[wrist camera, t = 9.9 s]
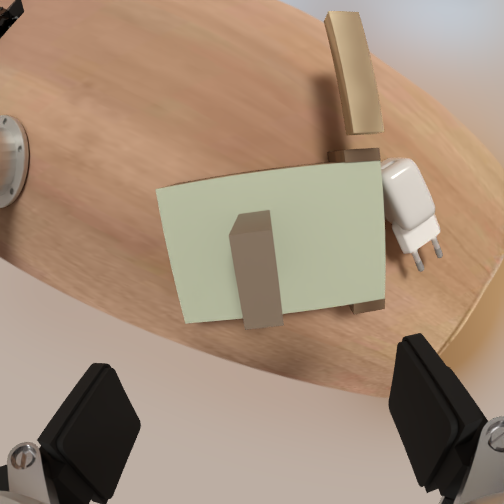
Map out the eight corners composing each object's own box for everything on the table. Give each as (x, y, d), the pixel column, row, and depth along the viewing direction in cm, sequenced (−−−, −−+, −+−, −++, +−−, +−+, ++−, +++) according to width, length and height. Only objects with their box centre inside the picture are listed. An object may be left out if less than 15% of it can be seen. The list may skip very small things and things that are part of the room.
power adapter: (433, 242, 29) (461, 259, 24) (400, 265, 30) (424, 286, 25) (392, 152, 27) (419, 152, 21) (354, 175, 28) (375, 179, 22)
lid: (187, 318, 27) (163, 370, 20) (159, 188, 24) (116, 201, 16) (380, 293, 26) (416, 339, 18) (375, 160, 23) (422, 161, 15)
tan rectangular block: (346, 135, 21) (353, 132, 19) (323, 21, 18) (328, 11, 16) (374, 134, 21) (384, 131, 19) (351, 21, 18) (358, 12, 16)
